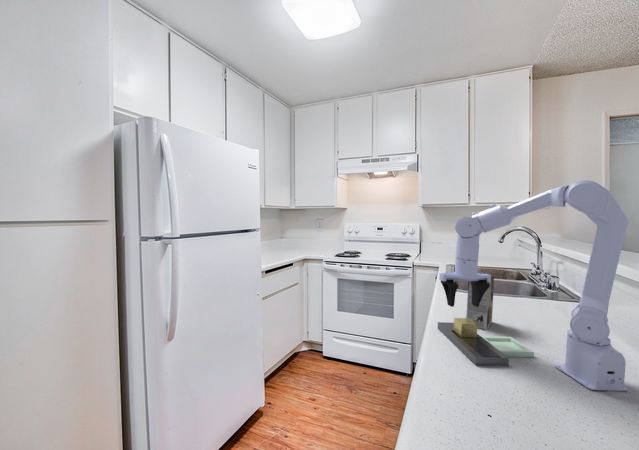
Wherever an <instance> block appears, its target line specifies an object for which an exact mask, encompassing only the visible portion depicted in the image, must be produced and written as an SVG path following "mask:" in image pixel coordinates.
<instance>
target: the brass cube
mask: <svg viewBox="0 0 639 450" xmlns="http://www.w3.org/2000/svg"><path fill="white" fill-rule="evenodd" d="M453 323H454V334H455V335H456V336H457V337H459V338H460V339H477V334H478V328H477V325H478V324H477V323H475V322H474V321H472V320H471V319H469V318H466V317H465V318H464V317H454V318H453Z"/></svg>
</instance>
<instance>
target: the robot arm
mask: <svg viewBox="0 0 639 450" xmlns="http://www.w3.org/2000/svg"><path fill="white" fill-rule="evenodd" d="M566 203H567V204H568V206H570V207H572V208H573V209H575V210H577V211H578V212H581V213H583V214H585V215H586V216H587V218H589V220H591V221H592V222H593V223H594V224H595V226H596V230H595V234H594V239H593V244H592V247H591V253H590V257H589V261H588V265H587V270H586V273H585V274H586V275H585V278H584V283H583V287H582V292H581V296H580V299H579V302H578V304H577V306H574V308H573V310H572V311H571V318H570V320H569V321H570V322H569V327H570V329H569V330H567V332H566V333H567V334H566V346H565V347H566V348H565V349H566V350H565V351H566V352H565V364H554V367H555V368H557V369H558V370H559V371H561V372H562V373H564V374H565V375H567V376H569V377H570V378H571V379H573V380H575V381H577V382H578V383H579V384H580V385H582V386H584V387H586V388H587V389H589V390H591V391H628V387H626V386H625V377H626V376H625V374H626V365H627V364H626V359H625V356H624V355H623V354H622V353H621V352H620V351H618V350H616V349H615V348H614V347H613V345H612V343H611V338H610V337H609V336H610V334H611V330H610V326H609V324H608V322H609V319H608V313H609V307H610V306H609V304H610V299H611V295H612V291H613V287H614V286H613V285H614V283H615V277H616V274H617V269H618V266H619V261H620V256H621V252H622V249H623V243H624V240H625V235H626V231H627V227H628V223H629V221H628V220H629V219H628V217H627V215H626V214H625V213H624V211H623V210H622V208H621V207H620V205H619V204H618V202H617V201H616V199H615V198H614V195H613V194H612V192H611V191H610V190H609V189H607V188H605V187H604V186H602V185H601V184H599V183H598V182H595V181H594V180H580V181H577V182H574V183H573V184H571V185H570V184H567V185H562V186H558V187H555V188H552V189H548V190H547V191H544V192H541V193H539V194H536V195H534V196H530V197H529V198H525V199H524V200H521V201H519V202H516V203H514V204H511V205H509V206H506V205H504V204H498V205H496V204H491V205H489V208H487V209H485V210H482V211H479V212H476V211H474V212H472V213H471V216H470V215H469V216H468V215H466V216H465V215H464V216H463V217H461V218H459V219H458V220H457V221H456V223H455V227H454V229H455V232H456V233H457V239H456V247H455V248H456V249H455V261H454V263H455V264H454V271H453V272H439V281H440V283H441V285H442V288H443V290H444V293H445V298H446V302H447V305H448V306H450V307H452V308H454V307H455V302H456V294H457V290H458V287H459V284H457V283H456V282H458V281H459V282H468V281H471V285H472V305H474V306H476V307H479V304H480V301H481V299H482V297H483V295H484V293H485V292H486V290H487V289H488V288H489V287H490V284H489V283H487V282H491V275H492V274H489V273H479V272H478V264H479V263H478V262H479V252H480V251H479V250H480V236H481V234H482V233H485V234H486V233H488V232H491V231H494V230H496V229H500V228H502V227H505V226H510V224H512V220H513V219H514V218H516V217H519V216H524V215H526V214H529V213H532V212H536V211H539V210H542V209H545V208H550V207H559V208H561V207H562V208H566V206H567V205H566Z"/></svg>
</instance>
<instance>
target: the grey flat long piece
mask: <svg viewBox="0 0 639 450" xmlns="http://www.w3.org/2000/svg"><path fill="white" fill-rule="evenodd" d="M437 330H438V331H439V332H440V333H442V334H443V336H445V337H446V339H448V340H449V341H450V342H451V343H452V344H453V345H454V346H455V347H456V348H457V349H458V350H459V351H460V352H461V353H462V354H463V355H465V357H467V359H469V361H470V362H471V363H472V364H473V365H474V366H491V367H492V366H495V367H497V366H498V367H508V366H509V362H510V357H507V356H506V355H505V354H503V353H502V352H501V351H499V350H498V349H497V348H495V347H494V346H493V345H491V344H490V343H489V342H488V341H486V340H485V339H484V338H482V337H481V336H482V335H480V334H479V333H477V339H460V338H459V337H457V336H456V335H455V334H454V322H448V321H447V322H445V321H444V322H440V321H438V322H437Z"/></svg>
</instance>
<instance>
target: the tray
mask: <svg viewBox="0 0 639 450" xmlns="http://www.w3.org/2000/svg"><path fill="white" fill-rule="evenodd" d="M480 336H481V337H482V338H484V339H485V340H486V341H488V342H489V343H490V344H491V345H493V346H494V347H495V348H497V349H498V350H499V351H501V352H502V353H503V354H505V355H506V356H507V357H509V358H534V357H535V351H533V350H532V349H530V348H529V347H528V346H526V345H524V344H522V343H521V342H520V341H518V340H516V339H515V338H513V337H512V336H489V335H488V336H484V335H483V336H482V335H480Z"/></svg>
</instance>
